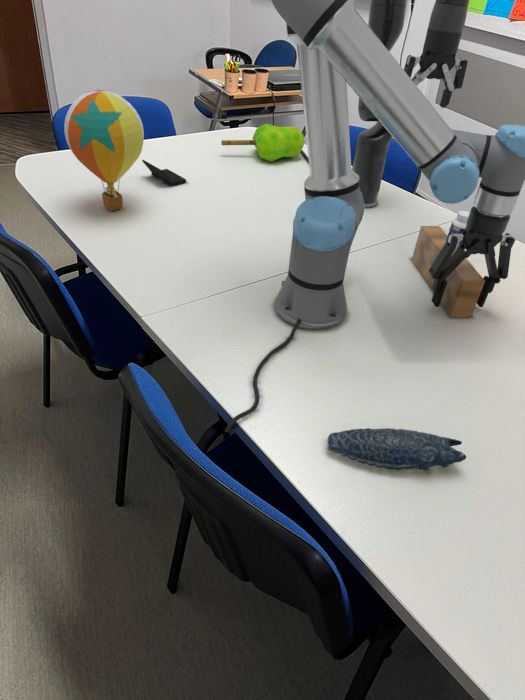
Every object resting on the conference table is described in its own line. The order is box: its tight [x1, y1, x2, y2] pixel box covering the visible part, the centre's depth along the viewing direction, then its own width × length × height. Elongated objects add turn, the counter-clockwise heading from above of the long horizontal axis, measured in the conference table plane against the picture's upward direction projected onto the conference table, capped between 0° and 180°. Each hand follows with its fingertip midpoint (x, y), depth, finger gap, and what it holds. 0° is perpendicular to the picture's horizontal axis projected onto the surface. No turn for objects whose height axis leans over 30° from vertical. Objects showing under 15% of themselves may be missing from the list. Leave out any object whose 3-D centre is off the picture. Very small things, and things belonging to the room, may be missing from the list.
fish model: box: [326, 427, 467, 471], centre depth 80 cm, size 7×21×5 cm, turn 84°
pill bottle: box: [448, 210, 470, 247], centre depth 141 cm, size 5×5×9 cm
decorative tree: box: [221, 123, 305, 163], centre depth 185 cm, size 18×10×30 cm
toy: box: [63, 89, 145, 212], centre depth 136 cm, size 20×20×30 cm
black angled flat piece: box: [141, 159, 187, 187], centre depth 162 cm, size 12×7×10 cm
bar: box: [411, 225, 485, 318], centre depth 122 cm, size 26×5×9 cm, turn 6°
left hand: (456, 303), depth 117 cm, fingers open, 10 cm apart
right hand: (425, 106), depth 125 cm, fingers open, 8 cm apart
